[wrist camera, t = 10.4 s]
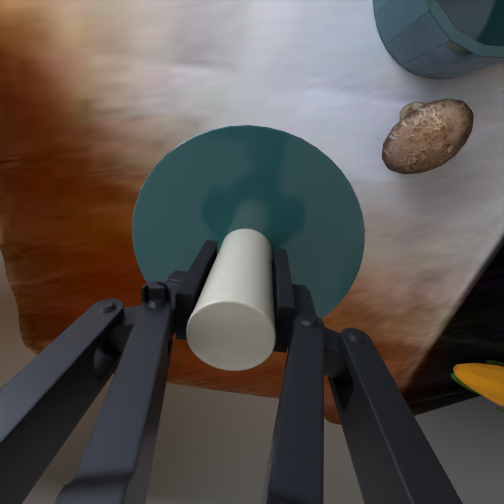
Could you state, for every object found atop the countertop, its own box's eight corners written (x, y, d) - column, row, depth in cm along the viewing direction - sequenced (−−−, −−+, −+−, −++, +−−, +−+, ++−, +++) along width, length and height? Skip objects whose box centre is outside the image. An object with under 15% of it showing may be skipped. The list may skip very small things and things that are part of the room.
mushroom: (410, 68, 24) (449, 106, 20) (464, 89, 26) (506, 126, 23) (355, 144, 30) (379, 182, 27) (404, 154, 33) (430, 189, 30)
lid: (100, 161, 18) (-71, 187, 9) (349, 93, 16) (464, 32, 7) (182, 344, 25) (133, 465, 16) (366, 316, 23) (435, 441, 13)
